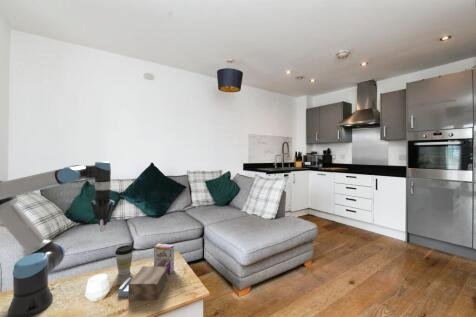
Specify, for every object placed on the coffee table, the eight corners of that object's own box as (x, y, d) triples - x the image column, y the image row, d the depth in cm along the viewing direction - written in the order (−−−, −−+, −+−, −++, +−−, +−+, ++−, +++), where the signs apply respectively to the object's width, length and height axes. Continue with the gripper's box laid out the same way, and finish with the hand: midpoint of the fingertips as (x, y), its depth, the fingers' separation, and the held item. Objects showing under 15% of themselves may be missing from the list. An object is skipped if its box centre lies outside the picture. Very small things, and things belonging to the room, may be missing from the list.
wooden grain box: (128, 300, 106) (128, 283, 106) (142, 280, 122) (142, 266, 122) (156, 300, 106) (156, 283, 106) (167, 280, 122) (167, 266, 122)
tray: (118, 296, 109) (118, 288, 109) (128, 285, 119) (128, 277, 119) (145, 297, 109) (145, 289, 109) (153, 285, 119) (153, 277, 119)
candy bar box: (153, 272, 131) (153, 246, 130) (157, 268, 135) (158, 243, 135) (170, 274, 129) (170, 248, 128) (174, 270, 134) (174, 244, 133)
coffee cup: (125, 277, 125) (125, 252, 125) (111, 275, 127) (111, 250, 126) (136, 269, 134) (136, 245, 134) (123, 267, 136) (123, 244, 136)
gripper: (86, 190, 116) (86, 233, 116) (110, 190, 116) (110, 233, 116) (95, 188, 123) (95, 228, 124) (118, 188, 123) (118, 228, 124)
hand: (102, 230), depth 120 cm, fingers closed
